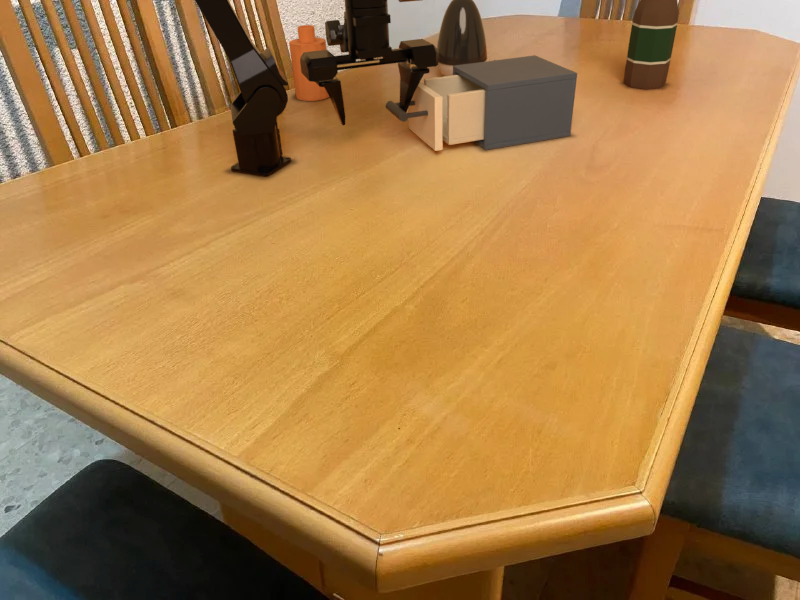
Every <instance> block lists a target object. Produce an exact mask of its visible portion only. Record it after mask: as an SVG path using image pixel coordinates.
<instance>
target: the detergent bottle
mask: <svg viewBox="0 0 800 600" xmlns="http://www.w3.org/2000/svg"><path fill="white" fill-rule="evenodd" d="M297 36H298V38H295V39H291V40H290V41H289V42H288V44H289V45H288V46H289V51H290V52H289V53H290V54H289V55H290V60H291V61H290V62H291V69H292V78H293V85H294V92H295V97H296V99H297V100H300V101H305V102H314V101H316V102H317V101H322V100H325V99H328V98H330V97H329V95H328V93H327V91H326V89H325V88H324V87H319V86H318V85H317V83H316V82H311V81H309V80H308V79H307V78H306V77H305V76H304V75H303V74H302V73H301V64H300V57H301V56H302V54H303V53H304V52H312V51H320V50H327V39H326V38H323V37H316V32H315V25H312V24H305V25H304V24H303V25H298V26H297Z"/></svg>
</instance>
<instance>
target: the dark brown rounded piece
mask: <svg viewBox="0 0 800 600" xmlns="http://www.w3.org/2000/svg"><path fill="white" fill-rule="evenodd" d="M487 47H488V46H487V39H486V33H485V29H484V25H483V19H482V17H481V13H480V11H479V8H478V6H477V4H476V2H475V1H474V0H451V1H450V3H449V4H448V6H447V8H446V10H445V12H444V15H443V17H442V20H441V24H440V28H439V33H438V38H437V44H436V48H437V51H438V65H437V66H438V69H439V71H440V72H441V74H442V75H443V76H451V75H453V66H455V65H463V64H471V63H479V62H486V61H487V59H488V48H487Z"/></svg>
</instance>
